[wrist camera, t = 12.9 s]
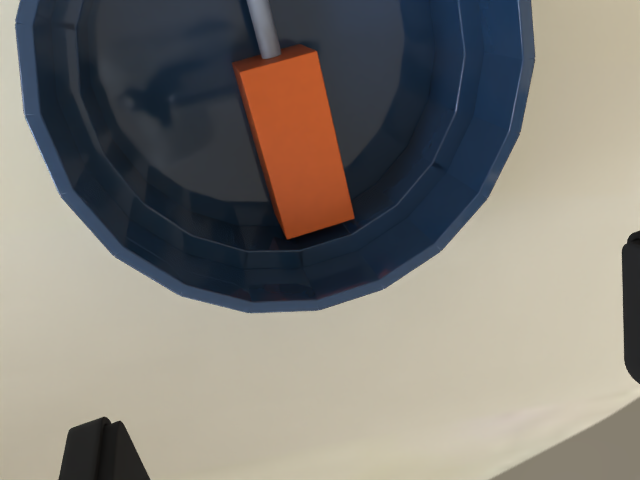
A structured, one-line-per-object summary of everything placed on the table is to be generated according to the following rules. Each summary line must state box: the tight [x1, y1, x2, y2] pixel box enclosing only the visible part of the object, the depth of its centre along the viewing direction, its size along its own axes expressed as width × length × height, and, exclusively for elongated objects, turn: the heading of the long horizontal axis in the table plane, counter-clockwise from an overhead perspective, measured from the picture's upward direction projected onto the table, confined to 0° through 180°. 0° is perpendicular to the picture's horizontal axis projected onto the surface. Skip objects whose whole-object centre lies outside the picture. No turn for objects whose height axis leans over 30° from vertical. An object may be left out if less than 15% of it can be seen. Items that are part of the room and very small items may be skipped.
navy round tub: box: [15, 0, 535, 313], centre depth 23 cm, size 17×17×6 cm
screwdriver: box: [232, 0, 355, 240], centre depth 24 cm, size 13×3×3 cm, turn 13°
